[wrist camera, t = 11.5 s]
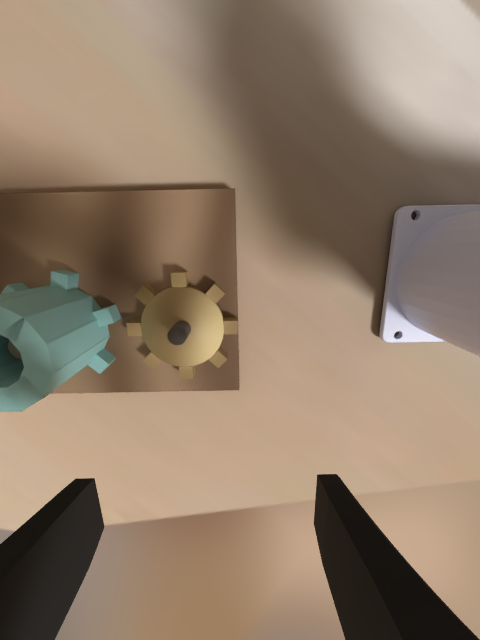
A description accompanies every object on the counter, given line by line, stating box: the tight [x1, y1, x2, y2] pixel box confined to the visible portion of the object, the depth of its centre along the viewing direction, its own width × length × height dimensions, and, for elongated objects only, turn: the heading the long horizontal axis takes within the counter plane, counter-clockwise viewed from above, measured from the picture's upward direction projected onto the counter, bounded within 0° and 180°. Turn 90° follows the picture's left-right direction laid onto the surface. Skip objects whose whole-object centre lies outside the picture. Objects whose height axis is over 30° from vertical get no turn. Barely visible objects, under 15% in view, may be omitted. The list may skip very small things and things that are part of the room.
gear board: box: [0, 189, 239, 394], centre depth 14 cm, size 14×12×4 cm
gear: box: [0, 270, 121, 412], centre depth 13 cm, size 7×7×5 cm
